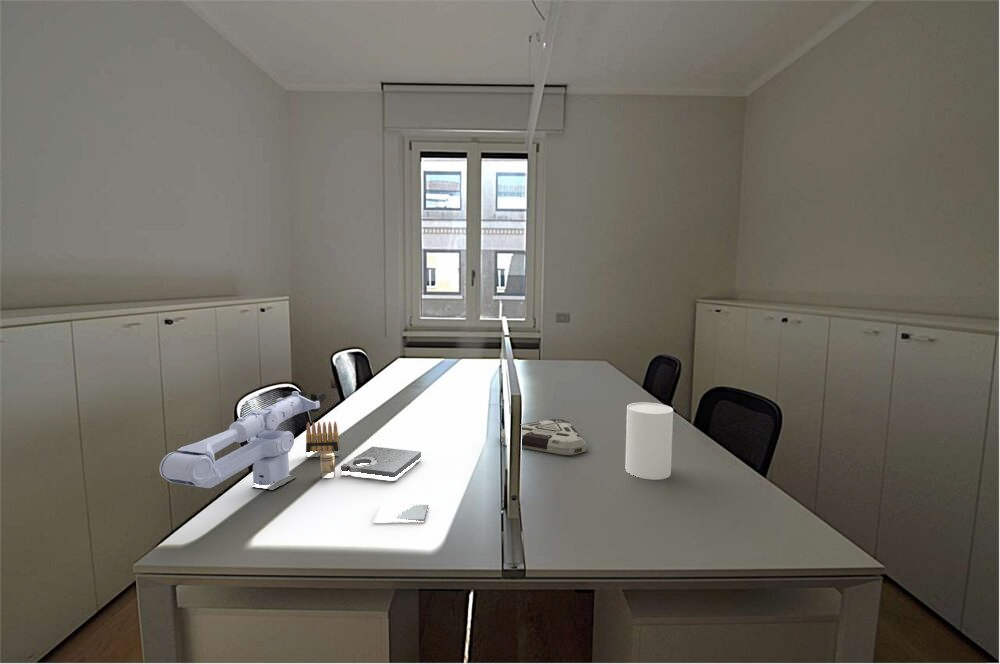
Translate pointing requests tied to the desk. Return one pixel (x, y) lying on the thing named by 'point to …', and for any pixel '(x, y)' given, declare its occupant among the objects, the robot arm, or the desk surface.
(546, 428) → the device
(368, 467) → the grey plate with hole
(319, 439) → the ammunition clip
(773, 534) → the desk surface
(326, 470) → the cylinder
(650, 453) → the canister
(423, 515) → the hard drive
